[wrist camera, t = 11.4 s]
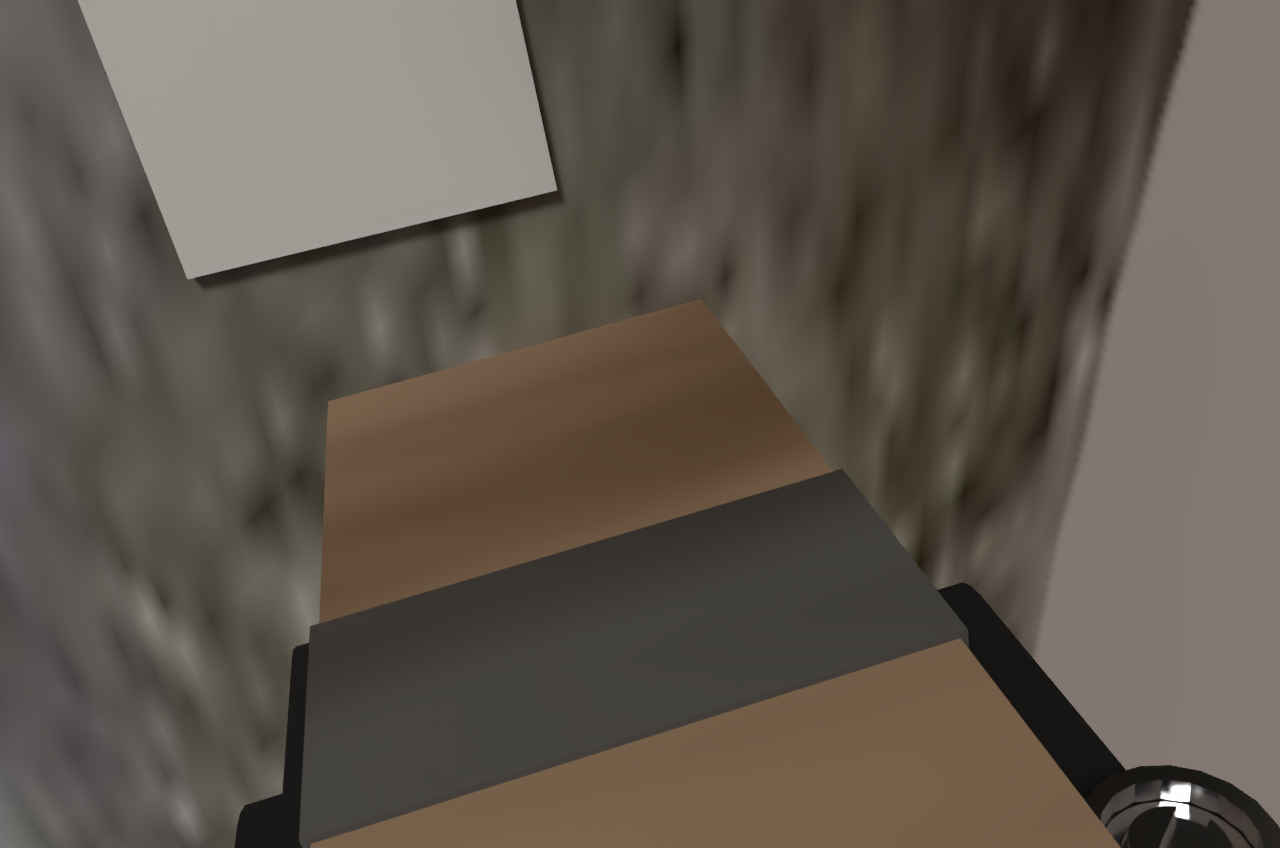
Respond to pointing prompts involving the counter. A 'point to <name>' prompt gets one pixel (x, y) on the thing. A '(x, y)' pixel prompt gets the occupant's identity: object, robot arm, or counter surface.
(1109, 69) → the counter surface
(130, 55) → the rest mat
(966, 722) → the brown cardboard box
